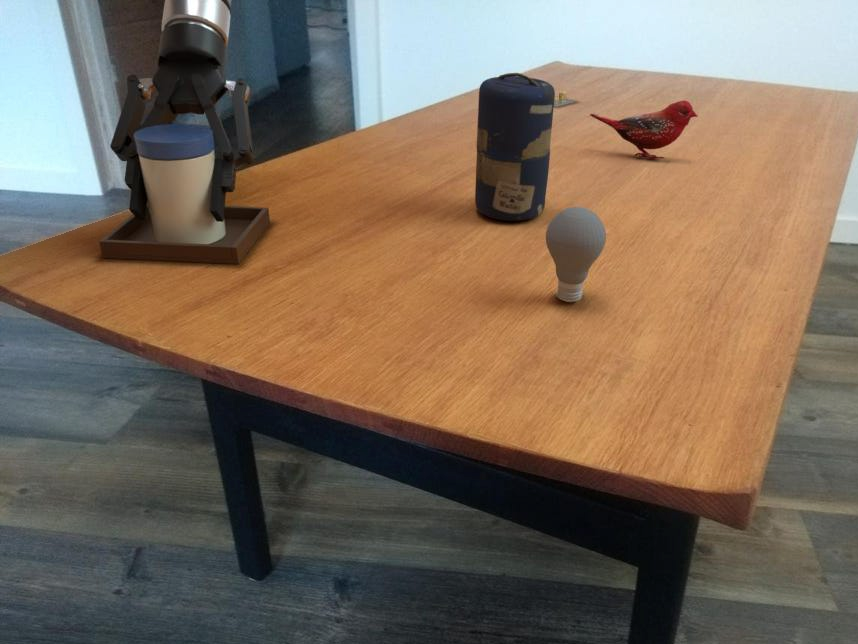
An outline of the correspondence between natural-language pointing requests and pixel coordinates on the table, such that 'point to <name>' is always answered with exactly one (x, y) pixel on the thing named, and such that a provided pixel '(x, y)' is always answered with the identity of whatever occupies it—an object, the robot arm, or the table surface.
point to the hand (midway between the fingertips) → (177, 215)
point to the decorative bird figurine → (653, 127)
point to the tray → (140, 243)
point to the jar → (181, 199)
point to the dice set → (562, 99)
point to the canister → (513, 146)
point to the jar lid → (174, 141)
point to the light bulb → (574, 248)
